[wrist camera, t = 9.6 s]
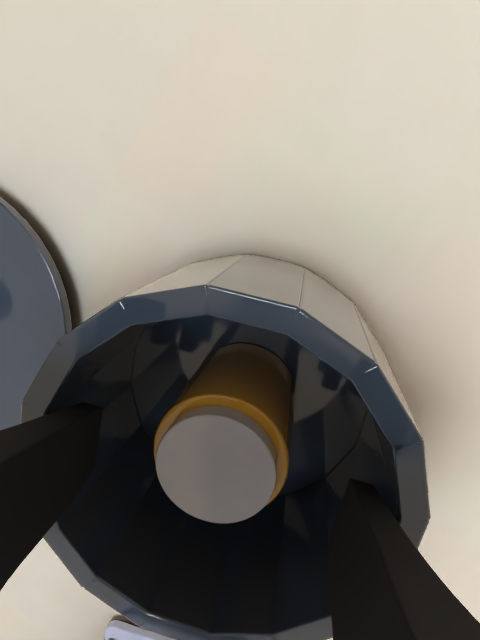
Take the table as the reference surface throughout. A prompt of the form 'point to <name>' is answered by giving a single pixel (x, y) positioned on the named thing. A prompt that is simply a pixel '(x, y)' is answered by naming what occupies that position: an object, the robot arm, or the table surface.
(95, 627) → the table surface
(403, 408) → the pot
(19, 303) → the lid
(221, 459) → the cylinder
